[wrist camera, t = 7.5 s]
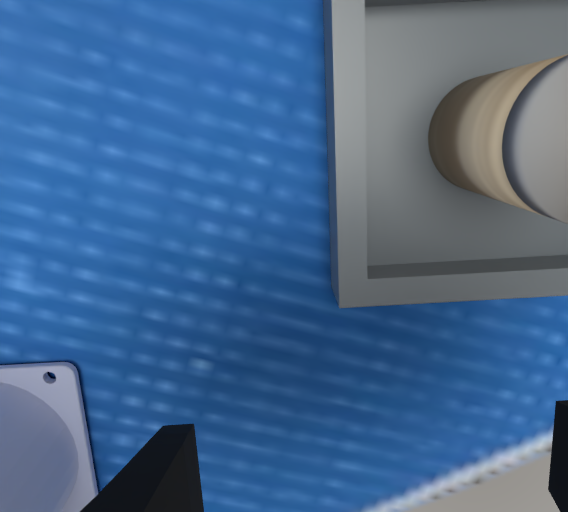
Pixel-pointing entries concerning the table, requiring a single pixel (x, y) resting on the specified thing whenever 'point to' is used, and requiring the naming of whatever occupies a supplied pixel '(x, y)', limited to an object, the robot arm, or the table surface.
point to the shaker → (508, 137)
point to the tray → (427, 153)
